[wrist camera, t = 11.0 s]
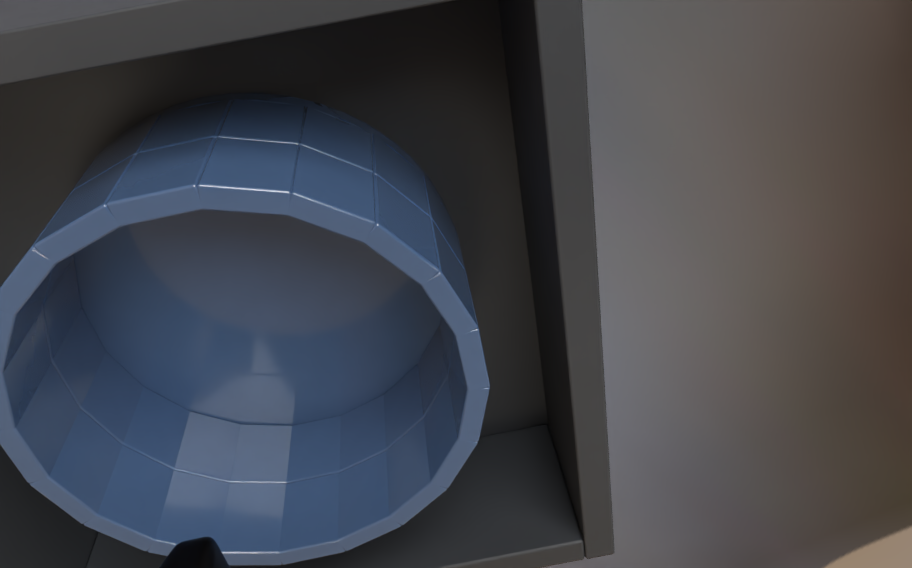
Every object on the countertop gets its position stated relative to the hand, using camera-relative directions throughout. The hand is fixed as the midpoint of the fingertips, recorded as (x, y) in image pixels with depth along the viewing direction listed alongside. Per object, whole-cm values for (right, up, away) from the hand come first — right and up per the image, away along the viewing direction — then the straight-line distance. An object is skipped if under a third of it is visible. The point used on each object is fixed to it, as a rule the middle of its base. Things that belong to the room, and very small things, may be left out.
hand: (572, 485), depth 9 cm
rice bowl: (-6, +3, +10) cm, 12 cm away
